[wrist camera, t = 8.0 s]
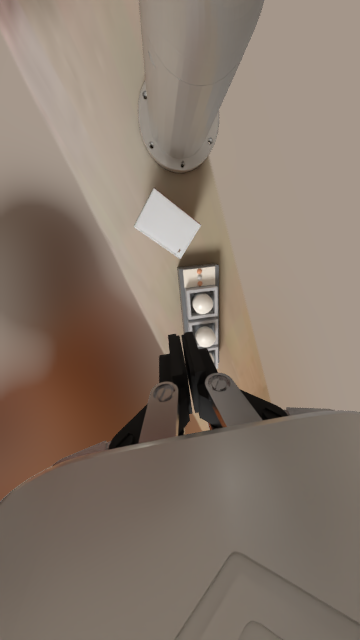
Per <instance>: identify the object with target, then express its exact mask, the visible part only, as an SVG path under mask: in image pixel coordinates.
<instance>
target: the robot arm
mask: <svg viewBox="0 0 360 640" xmlns="http://www.w3.org/2000/svg"><path fill="white" fill-rule="evenodd" d="M263 3H264V0H139V10H140V22H141V34H142V46H143V58H144V70H145V81H144V83H143V86H142V88H141V92H140V96H139V101H138V121H139V128H140V132H141V136H142V139H143V142H144V144H145V146H146V149H147V150H148V152H149V153H150V155H151V157H152V158H153V159H154V160H155V161H156V162H157V163H158V164H159V165H160V166H162V167H163V168H165V169H167V170H169V171H172V172H176V173H184V172H188V171H191V170H193V169H195V168H197V167H198V166H199V165H201V164H202V163H203V162H204V161H205V159H206V158H207V157H208V155H209V154H210V152H211V150H212V148H213V146H214V144H215V141H216V137H217V134H218V127H219V108H220V106H221V104H222V102H223V99H224V97H225V95H226V93H227V91H228V88H229V86H230V84H231V81H232V79H233V77H234V75H235V73H236V70H237V68H238V66H239V64H240V61H241V59H242V57H243V55H244V52H245V50H246V47H247V45H248V43H249V41H250V39H251V36H252V34H253V31H254V29H255V27H256V24H257V21H258V19H259V16H260V13H261V10H262V6H263ZM145 98H147V99H145ZM208 142H210V144H208ZM151 146H153V148H152V149H151V148H150V147H151ZM181 165H183V168H181ZM168 339H169V350H170V354H165V355H160V357H159V384H157V385H156V386H154V387H153V389H152V391H151V393H150V396H149V401H148V404H147V405H146V406H145V407H144V408H143V409H142V410H141V411H140V412H139V413H138V414H137V415H136V416H135V417H134V418H133V419H132V420H131V421H130V422H129V423H128V424H127V425H125V427H123V428H122V429H121V430H120V431H119V432H118V434H116V435H115V437H114V438H113V439H112V441H110V442H108V443H107V442H106V441H104V442H101V443H99V444H96V445H94V446H92V447H89V448H87V449H84V450H82V451H79V452H77V453H75V454H72V455H70V456H68V457H65V458H63V459H61V460H59V461H58V462H56V463H55V464H54V465H53V466H52V467H50V468H48V469H45V470H44V471H42V472H40V473H38V474H36V475H35V476H33V477H31V478H29V479H28V480H26V481H25V482H23V483H22V484H20V485H19V486H18V487H16V488H15V489H14V490H12V491H11V492H10V493H9V494H8V495H7V496H6V497H4V498H3V499H2V500H1V502H0V640H360V412H355V411H342V410H340V411H339V410H338V411H335V410H331V409H315V408H289V407H287V408H286V410H283V409H281V408H280V407H278V406H276V405H274V404H272V403H270V402H267V401H265V400H263V399H260V398H258V397H256V396H254V395H251V394H249V393H247V392H244V391H242V390H240V389H239V388H238V387H237V385H236V384H235V383H234V381H233V380H232V379H231V378H230V377H229V376H228V375H226V374H223V373H218V372H217V369H216V367H215V365H214V363H213V360H212V358H211V356H210V354H209V351H208V349H207V348H202V349H198V346H197V343H196V341H195V338H194V335H193V332H192V331H191V332H184V335H182V342H183V350H184V356H183V351H182V346H181V342H180V337H179V336H176V334H172V335H168ZM184 357H185V361H184ZM185 365H186V366H185ZM188 381H189V384H188ZM189 385H190V390H191V395H192V400H193V405H194V409H195V413H198V412H199V416H200V418H202V419H203V420H205V421H207V422H208V426H209V429H210V430H208V431H203V432H198V433H192V434H187V435H185V426H186V425H187V423H188V422H189V421H190V418H189V414H192V407H191V399H190V391H189Z"/></svg>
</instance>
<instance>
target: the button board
mask: <svg viewBox="0 0 360 640" xmlns="http://www.w3.org/2000/svg"><path fill="white" fill-rule="evenodd" d="M177 270H178V280H179V290H180V300H181V310H182V321H183V331H184V332H191V331H192V332H193V335H194V338H195V341H196V343H197V340H196V337H195V333H196V331H197V330H198V329H199V328H200V327H203V326H207V327H210V328H211V329H212V330H213V332H214V334H215V335H216V341H215V343H214V344H213V345H212V346H210V347H201V346H200V345H199V344H198V343H197V346H198V349H202V348H207V349H208V351H210V352H211V354H212V356H213V358H214V365H215V367H216V369H218V363H219V265H218V264H215V263H213V264H204V265H195V266H186V267H177ZM198 293H206V294H208V295H209V296H210V297H211V299H212V300H213V307H212V309H211V310H210V311H209V312H208V313H206V314H199V313H197V312H196V311H195V310H194V308H193V306H192V299H193V297H194V296H195V295H196V294H198Z"/></svg>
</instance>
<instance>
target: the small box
mask: <svg viewBox="0 0 360 640" xmlns="http://www.w3.org/2000/svg"><path fill="white" fill-rule="evenodd" d="M200 226H201V224H199V223H198V222H197V221H196V220H194V219H193V218H192V217H191V216H189V215H188V214H187V213H186V212H184V211H183V210H182V209H180V208H179V207H178V206H177V205H175V204H174V203H173V202H172V201H170V200H169V199H168V198H166V197H165V196H164V195H163V194H161V193H160V192H159V191H158V190H156V189H155V188H153V190H152V192H151V194H150V196H149V198H148V200H147V202H146V203H145V205H144V207H143V209H142V211H141V213H140V215H139V217H138V219H137V221H136V223H135V225H134V228H136V229H137V230H139V231H140V232H142V233H143V234H145V235H146V236H148V237H149V238H150V239H152V240H153V241H155V242H156V243H158V244H159V245H161V246H162V247H163V248H165V249H166V250H168V251H169V252H171V253H172V254H174V255H175V256H176V257H178V258H179V259H181V258H182V256H183V254H184V253H185V251H186V249H187V248H188V246H189V244H190V243H191V241H192V239H193V238H194V236H195V235H196V233H197V231H198V230H199V228H200Z"/></svg>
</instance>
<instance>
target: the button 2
mask: <svg viewBox="0 0 360 640" xmlns="http://www.w3.org/2000/svg"><path fill="white" fill-rule="evenodd" d="M192 306H193V308H194V310H195V311H196V312H197V313H199V314H206V313H208V312H209V311H210V310H211V309H212V307H213V300H212V299H211V297H210V296H209V295H208V294H206V293H198V294H196V295H195V296H194V297H193V299H192Z"/></svg>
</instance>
